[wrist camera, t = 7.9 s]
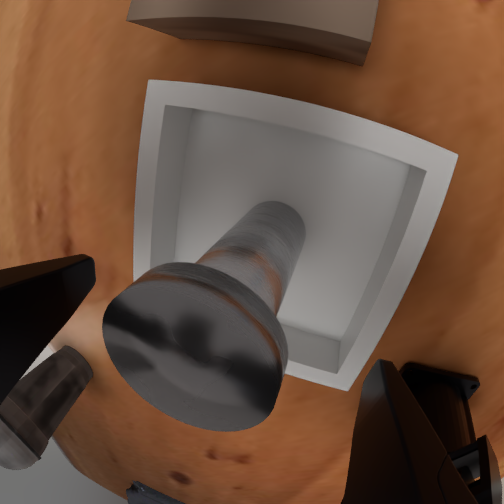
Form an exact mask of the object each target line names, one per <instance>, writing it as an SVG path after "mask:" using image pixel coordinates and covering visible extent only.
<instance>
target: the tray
mask: <svg viewBox="0 0 504 504" xmlns="http://www.w3.org/2000/svg"><path fill="white" fill-rule="evenodd" d="M457 158H458V154H456V153H453V152H451V151H449V150H447V149H444V148H442V147H440V146H437V145H435V144H433V143H430V142H428V141H425V140H423V139H420V138H418V137H415V136H413V135H410V134H408V133H405V132H402V131H400V130H397V129H394V128H391V127H388V126H386V125H383V124H380V123H377V122H374V121H371V120H368V119H364V118H361V117H358V116H355V115H351V114H348V113H345V112H341V111H338V110H334V109H330V108H327V107H323V106H319V105H315V104H311V103H307V102H303V101H299V100H294V99H290V98H285V97H280V96H275V95H270V94H265V93H260V92H254V91H249V90H243V89H236V88H230V87H223V86H215V85H207V84H198V83H189V82H178V81H164V80H148V86H147V92H146V99H145V106H144V113H143V120H142V128H141V136H140V146H139V155H138V166H137V179H136V194H135V213H134V248H133V276H134V281H136V280H137V279H138V278H139V277H140V276H142V275H143V274H144V273H146V272H147V271H148V270H150V269H152V268H154V267H156V266H158V265H162V264H165V263H172V262H189V263H195V262H196V261H197V260H199V259H200V258H201V257H202V256H203V255H204V254H205V253H206V252H207V251H208V250H209V249H210V248H211V247H212V246H213V245H214V244H215V243H216V242H217V241H218V240H219V239H220V238H221V237H222V236H223V235H224V234H225V233H226V232H227V231H228V230H230V229H231V228H232V227H233V226H234V225H235V224H236V223H237V222H238V221H239V220H240V219H241V218H242V217H243V216H244V215H245V214H246V213H247V212H248V211H249V210H251V209H252V208H253V207H254V206H255V205H257V204H259V203H262V202H265V201H279V202H283V203H285V204H287V205H289V206H291V207H292V208H293V209H295V210H296V211H297V212H298V214H299V215H300V216H301V218H302V220H303V222H304V225H305V229H306V238H305V242H304V245H303V248H302V250H301V253H300V256H299V259H298V261H297V264H296V267H295V269H294V272H293V275H292V277H291V280H290V283H289V285H288V288H287V291H286V293H285V296H284V298H283V301H282V304H281V306H280V309H279V311H278V314H277V316H276V318H277V319H278V321H279V323H280V324H281V326H282V329H283V331H284V334H285V336H286V340H287V344H288V364H287V367H286V371H285V374H288V375H291V376H295V377H298V378H301V379H305V380H308V381H311V382H315V383H318V384H322V385H326V386H329V387H333V388H337V389H340V390H344V391H348V390H349V389H350V387H351V386H352V384H353V383H354V381H355V379H356V378H357V376H358V375H359V373H360V372H361V370H362V368H363V367H364V365H365V364H366V362H367V360H368V359H369V357H370V355H371V354H372V352H373V350H374V349H375V347H376V345H377V343H378V342H379V340H380V338H381V336H382V335H383V333H384V331H385V329H386V327H387V326H388V324H389V322H390V320H391V318H392V316H393V315H394V313H395V311H396V309H397V307H398V305H399V303H400V301H401V299H402V297H403V295H404V293H405V291H406V289H407V287H408V285H409V283H410V281H411V279H412V276H413V274H414V272H415V270H416V268H417V266H418V263H419V261H420V259H421V257H422V254H423V252H424V250H425V247H426V245H427V243H428V240H429V238H430V235H431V233H432V230H433V228H434V225H435V223H436V220H437V218H438V215H439V212H440V210H441V207H442V204H443V201H444V199H445V196H446V193H447V190H448V187H449V184H450V181H451V178H452V175H453V171H454V168H455V165H456V162H457Z"/></svg>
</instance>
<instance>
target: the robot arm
mask: <svg viewBox="0 0 504 504" xmlns="http://www.w3.org/2000/svg"><path fill="white" fill-rule="evenodd" d="M95 282H96V275H95V263H94V260H93V258H92V257H90V256H87V255H85V254H79V255H74V256H68V257H63V258H58V259H52V260H47V261H42V262H37V263H32V264H26V265H21V266H16V267H11V268H6V269H1V270H0V406H1V403H3V401H4V400H5V398H6V397H7V396H8V394H9V393H10V392H11V390H12V389H13V388H14V386H15V385H16V384H17V382H18V381H19V380H20V378H21V377H22V376H23V375H24V373H25V372H26V371H27V370H28V368H29V367H30V366H31V364H32V363H33V362H34V361H35V359H36V358H37V357H38V356H39V355H40V353H41V352H42V351H43V350H44V348H45V347H46V346H47V345H48V344H49V342H50V341H51V340H52V339H53V338H54V337H55V335H56V334H57V333H58V332H59V331H60V330H61V328H62V327H63V326H64V325H65V324H66V323H67V321H68V320H69V319H70V318H71V316H72V315H73V314H74V312H75V311H76V310H77V308H78V307H79V305H80V304H81V303H82V301H83V300H84V299H85V297H86V296H87V295H88V293H89V292H90V291H91V289H92V288H93V286H94V285H95ZM410 370H412V371H410ZM408 371H410V372H408ZM479 386H480V383H479V380H478V378H475V377H470V376H466V375H461V374H456V373H452V372H447V371H443V370H439V369H434V368H430V367H426V366H422V365H418V364H414V363H409V364H406V365H405V366H404V367H403V368H402V369H401V371H400V372H398V370H397V369H396V367H395V366H394V364H393V363H392V362H391V361H387V360H383V359H378V360H377V361H376V362H375V364H374V366H373V367H372V369H371V370H370V372H369V373H368V375H367V376H366V378H365V380H364V383H363V387H362V393H361V398H360V403H359V407H358V412H357V417H356V421H355V426H354V431H353V438H352V447H351V455H350V462H349V469H348V476H347V482H346V488H345V494H344V497H343V499H342V502H341V504H502V484H501V478H500V472H499V467H498V461H497V458H496V456H495V453H494V451H493V449H492V446H491V444H490V442H489V440H488V438H487V435H486V434H485V435H483V436H482V437H480V438H477V441H476V437H475V432H474V427H473V422H472V417H471V413H470V408H469V404H468V399H469V398H470V397H471V396H472V395H473V393H474V392H475V391H476V390H477V389H478V388H479ZM477 477H480V479H479V480H476V481H475V480H474V479H475V478H477Z"/></svg>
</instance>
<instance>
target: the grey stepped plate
mask: <svg viewBox="0 0 504 504" xmlns="http://www.w3.org/2000/svg"><path fill="white" fill-rule="evenodd" d="M132 481H133V480H132ZM133 483H134V485H132V486H131V487H130V488H129V489H127V490H126V494H127V497H128V503H129V504H185V503H183V502H180V501H178V500H176V499H173V498H171V497H169V496H167V495H165V494H162V493H160V492H158V491H156V490H154V489H152V488H150V487H148V486H146V485H144V484H142V483H140V482H138V481H136V482H135V481H133Z"/></svg>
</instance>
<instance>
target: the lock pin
mask: <svg viewBox="0 0 504 504" xmlns="http://www.w3.org/2000/svg"><path fill="white" fill-rule="evenodd" d="M305 238H306V229H305V225H304V222H303V220H302V218H301V216H300V215H299V214H298V212H297V211H296V210H295V209H293V208H292V207H291V206H289V205H287V204H285V203H283V202H279V201H265V202H262V203H259V204H257V205H255V206H254V207H253V208H252V209H251V210H249V211H248V212H247V213H246V214H245V215H244V216H243V217H242V218H241V219H240V220H239V221H238V222H237V223H236V224H235V225H234V226H233V227H232V228H231V229H230V230H228V231H227V232H226V233H225V234H224V235H223V236H222V237H221V238H220V239H219V240H218V241H217V242H216V243H215V244H214V245H213V246H212V247H211V248H210V249H209V250H208V251H207V252H206V253H205V254H204V255H203V256H202V257H201V258H200V259H199V260H197V261H196V262H195V263H189V262H172V263H165V264H162V265H158V266H156V267H154V268H152V269H150V270H148V271H147V272H146V273H144V274H143V275H142V276H140V277H139V278H138V279H137V280H136V281H134V282H133V283H132V284H131V285H130V286H128V287H127V288H126V289H125V290H124V291H123V292H121V293H120V294H119V295H118V296H117V297H116V298H114V299H113V300H112V301H111V303H110V304H109V305H108V307H107V309H106V311H105V313H104V317H103V324H102V330H103V338H104V342H105V346H106V348H107V351H108V354H109V356H110V358H111V360H112V362H113V364H114V365H115V367H116V369H117V370H118V371H119V373H120V374H121V376H122V377H123V378H124V379H125V381H126V382H127V383H128V384H129V385H130V386H131V387H132V388H133V389H134V390H135V391H136V392H137V393H138V394H139V395H140V396H141V397H142V398H143V399H145V400H146V401H147V402H149V403H150V404H151V405H153V406H154V407H156V408H157V409H159V410H160V411H162V412H163V413H165V414H167V415H169V416H171V417H173V418H175V419H177V420H179V421H181V422H184V423H186V424H189V425H192V426H195V427H199V428H203V429H207V430H213V431H225V432H226V431H239V430H244V429H248V428H251V427H253V426H256V425H258V424H259V423H261V422H262V421H264V420H265V419H266V418H267V417H268V416H269V415H270V413H271V412H272V410H273V408H274V405H275V402H276V399H277V396H278V393H279V390H280V387H281V383H282V380H283V377H284V374H285V371H286V367H287V364H288V344H287V340H286V336H285V334H284V331H283V329H282V326H281V324H280V323H279V321H278V319H277V318H276V316H277V314H278V311H279V309H280V306H281V304H282V301H283V298H284V296H285V293H286V291H287V288H288V285H289V283H290V280H291V277H292V275H293V272H294V269H295V267H296V264H297V261H298V259H299V256H300V253H301V250H302V248H303V245H304V242H305Z"/></svg>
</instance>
